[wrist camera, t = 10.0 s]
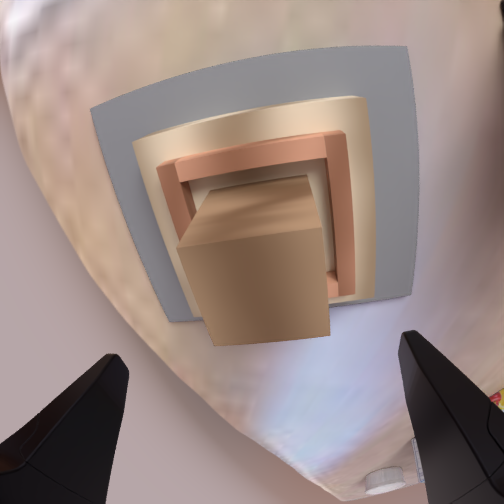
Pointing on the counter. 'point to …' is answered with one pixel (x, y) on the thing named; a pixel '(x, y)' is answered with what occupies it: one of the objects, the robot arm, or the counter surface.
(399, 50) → the grey base plate
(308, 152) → the socket plinth
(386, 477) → the ramekin
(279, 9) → the counter surface
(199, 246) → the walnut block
